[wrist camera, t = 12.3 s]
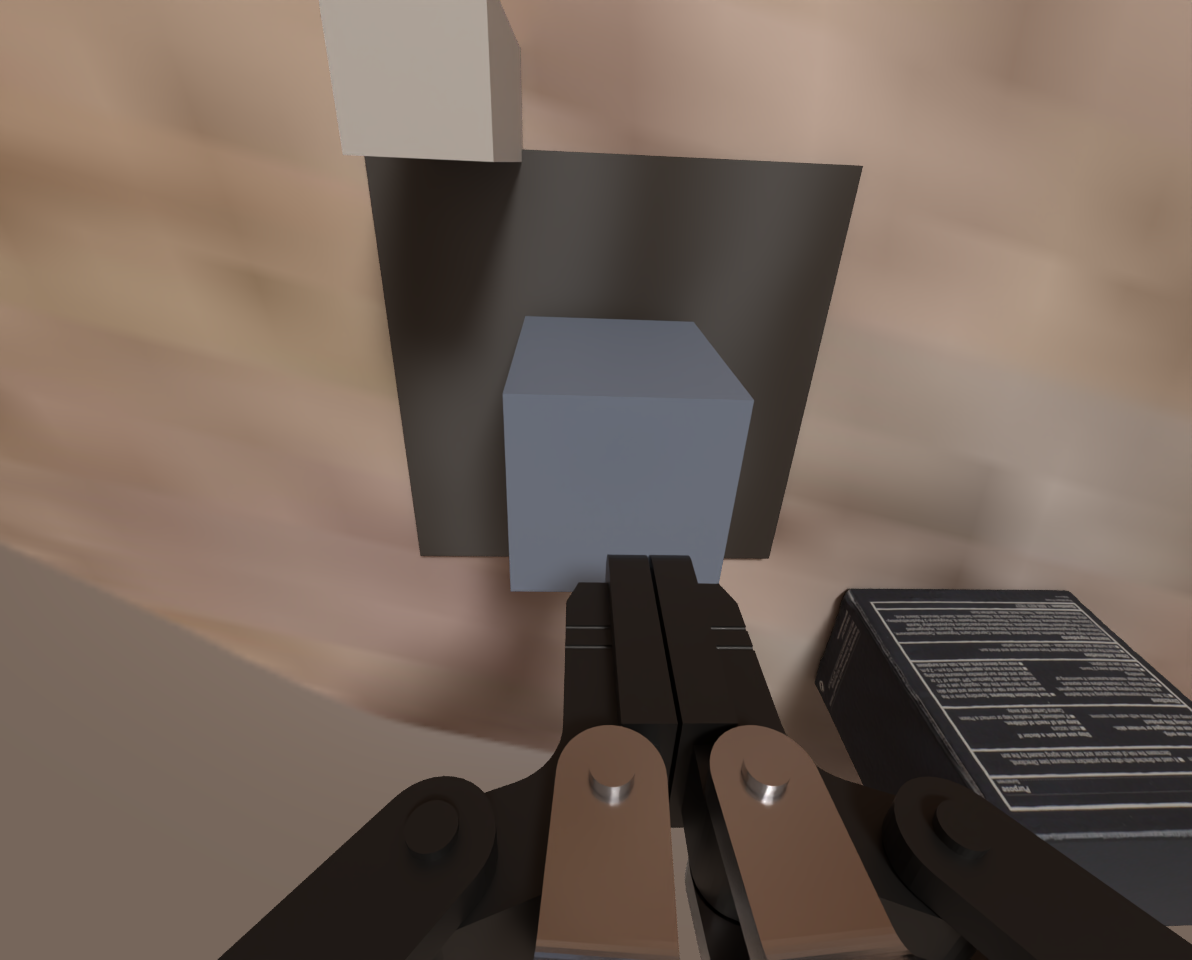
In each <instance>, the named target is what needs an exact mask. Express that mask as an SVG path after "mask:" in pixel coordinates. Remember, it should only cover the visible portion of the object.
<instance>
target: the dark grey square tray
mask: <svg viewBox="0 0 1192 960" xmlns="http://www.w3.org/2000/svg"><path fill="white" fill-rule="evenodd" d="M365 163H366V170H367V177H368V184H369V191H370V198H371V206H372V213H373V220H374V227H375V234H376V241H377V248H378V255H379V263H380V270H381V277H382V284H383V291H384V298H385V305H386V312H387V320H388V327H389V334H390V341H391V348H392V355H393V362H394V369H395V377H396V384H397V391H398V398H399V405H400V412H401V419H402V426H403V434H404V441H405V448H406V455H407V462H408V469H409V476H410V483H411V491H412V498H413V505H414V512H415V519H416V526H417V533H418V540H419V548H420V555H421V556H509V537H508V512H507V488H506V463H505V439H504V414H503V391H504V387H505V384H506V381H507V377H508V374H509V370H510V367H511V363H512V360H513V357H514V353H515V350H516V346H517V343H518V340H519V336H520V333H521V329H522V326H523V323H524V319H525V316H537V317H566V318H595V319H624V320H654V321H683V322H694V323H695V324H696V326H697V327H698V328H699V329H700V331H701V332H702V333H703V335H704V336H705V337H706V339H707V340H708V341H709V342H710V344H711V345H712V346H713V348H714V349H715V350H716V351H717V353H718V354H719V355H720V357H721V358H722V359H723V361H724V362H725V363H726V364H727V366H728V367H729V368H730V370H731V371H732V372H733V374H734V375H735V376H736V377H737V379H738V380H739V381H740V383H741V384H742V385H743V386H744V388H745V389H746V390H747V392H748V393H749V394H750V396H751V397H752V398H753V399H754V404H753V409H752V414H751V419H750V424H749V429H748V435H747V440H746V445H745V450H744V455H743V461H742V466H741V471H740V476H739V481H738V486H737V492H736V497H735V502H734V507H733V512H732V517H731V523H730V528H729V533H728V538H727V543H726V548H725V554H724V558H760V559H769V556H770V551H771V547H772V543H773V539H774V535H775V531H776V526H777V522H778V518H779V514H780V510H781V506H782V501H783V497H784V493H785V489H786V485H787V481H788V476H789V472H790V468H791V464H792V460H793V456H794V451H795V447H796V443H797V439H798V435H799V431H800V426H801V422H802V418H803V414H804V410H805V406H806V401H807V397H808V393H809V389H810V385H811V381H812V376H813V372H814V368H815V364H816V360H817V356H818V351H819V347H820V343H821V339H822V335H823V330H824V326H825V322H826V318H827V314H828V310H829V305H830V301H831V297H832V293H833V289H834V285H835V280H836V276H837V272H838V268H839V264H840V260H841V255H842V251H843V247H844V243H845V239H846V235H847V230H848V226H849V222H850V218H851V214H852V210H853V205H854V201H855V197H856V193H857V189H858V185H859V180H860V176H861V172H862V168H863V166H854V165H833V164H812V163H791V162H771V161H750V160H729V159H708V158H687V157H666V156H645V155H625V154H604V153H583V152H562V151H541V150H522V162H484V161H463V160H441V159H420V158H399V157H377V156H365Z"/></svg>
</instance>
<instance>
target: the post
mask: <svg viewBox="0 0 1192 960" xmlns="http://www.w3.org/2000/svg"><path fill="white" fill-rule="evenodd" d="M319 6H320V12H321V18H322V25H323V31H324V38H325V44H326V50H327V57H328V63H329V69H330V76H331V82H332V89H333V95H334V101H335V108H336V114H337V121H338V127H339V133H340V140H341V146H342V152H343V155H356V156H377V157H399V158H420V159H441V160H463V161H484V162H522V150H523V145H522V96H521V48H520V46H519V44H518V41H517V39H516V37H515V34H514V32H513V30H512V28H511V25H510V23H509V21H508V18H507V16H506V14H505V12H504V9H503V7H502V5H501V2H500V0H319Z"/></svg>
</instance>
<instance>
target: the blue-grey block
mask: <svg viewBox="0 0 1192 960" xmlns="http://www.w3.org/2000/svg"><path fill="white" fill-rule="evenodd" d="M753 404H754V399H753V398H752V397H751V396H750V394H749V393H748V392H747V390H746V389H745V388H744V386H743V385H742V384H741V383H740V381H739V380H738V379H737V377H736V376H735V375H734V374H733V372H732V371H731V370H730V368H729V367H728V366H727V364H726V363H725V362H724V361H723V359H722V358H721V357H720V355H719V354H718V353H717V351H716V350H715V349H714V348H713V346H712V345H711V344H710V342H709V341H708V340H707V339H706V337H705V336H704V335H703V333H702V332H701V331H700V329H699V328H698V327H697V326H696V324H695V323H694V322H683V321H654V320H624V319H595V318H566V317H537V316H525V319H524V323H523V326H522V329H521V333H520V336H519V340H518V343H517V346H516V350H515V353H514V357H513V360H512V363H511V367H510V370H509V374H508V377H507V381H506V384H505V387H504V391H503V414H504V439H505V463H506V488H507V512H508V537H509V561H510V586H511V591H535V592H573V591H574V589H575V587H576V586H577V584H578V583H579V582H600V583H605V574H606V559H607V554H612V555H647V557H648V556H649V555H689V556H690V558H691V561H692V564H693V567H694V571H695V574H696V578H697V581H698V583H709V584H719V579H720V574H721V569H722V564H723V559H724V554H725V548H726V543H727V538H728V533H729V528H730V523H731V517H732V512H733V507H734V502H735V497H736V492H737V486H738V481H739V476H740V471H741V466H742V461H743V455H744V450H745V445H746V440H747V435H748V429H749V424H750V419H751V414H752V409H753Z"/></svg>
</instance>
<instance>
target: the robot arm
mask: <svg viewBox="0 0 1192 960" xmlns="http://www.w3.org/2000/svg"><path fill="white" fill-rule="evenodd" d="M745 627H746V626H745V623H744V621H743V618H742V615H741V612H740V610H739V607H738V604H737V603H736V602H735V600H734V599H733V598H732V597H731V596H730V595H729V594H728V593H727V592H726V591H725V590H724V589H723V588H722V587H721V586H720V585H719V584H709V583H698V581H697V578H696V574H695V571H694V567H693V564H692V561H691V558H690V556H689V555H649V556H648V557H647V555H612V554H607V559H606V574H605V583H600V582H579V583H578V584H577V586H576V587H575V589H574V591H573V592H572V594H571V595H570V597H569V599H568V600H567V602H566V639H565V677H564V716H563V732H562V737H561V740H560V743H559V745H558V747H557V749H556V751H555V753H554V754H553V755H552V757H551V758H550V760H549V761H548V762H547V763H546V764H545V765H544V766H543V767H542V768H541V769H539V770H538V771H537V772H535V773H534V774H532V775H530V776H529V777H527V778H525V779H522V780H520V781H518V782H515V783H512V784H509V785H506V786H503V787H501V788H498V789H494V790H492V791H489V792H486V793H484V792H483V791H482V790H481V789H480V788H479V787H477V786H476V785H474V784H473V783H471V782H469V781H467V780H465V779H462V778H457V777H450V776H442V777H433V778H430V779H426V780H423V781H420V782H418V783H416V784H414V785H412V786H410V787H408V788H407V789H405V790H404V791H402V792H401V793H400V794H399V795H397V796H396V797H395V798H394V799H393V800H392V801H391V802H389V803H388V804H387V805H386V806H385V807H384V808H383V809H382V810H381V811H379V812H378V813H377V814H376V815H375V816H374V817H373V818H372V819H371V820H370V821H369V822H368V823H366V824H365V825H364V826H363V827H362V828H361V829H360V830H359V831H358V832H357V833H355V834H354V835H353V836H352V837H351V838H350V839H349V840H348V841H347V842H346V843H344V844H343V845H342V846H341V847H340V848H339V849H338V850H337V851H336V852H335V853H334V854H333V855H331V856H330V857H329V858H328V859H327V860H326V861H325V862H324V863H323V864H322V865H321V866H319V867H318V868H317V869H316V870H315V871H314V872H313V873H312V874H311V875H309V876H308V878H306V879H305V880H304V881H303V882H302V883H301V884H300V885H299V886H298V887H296V888H295V889H294V890H293V891H292V892H291V893H290V894H289V895H288V896H286V898H285V899H283V900H282V901H281V902H280V903H279V904H278V905H277V906H276V907H274V909H272V910H271V911H270V912H269V913H268V914H267V915H266V916H265V917H264V918H262V919H261V921H259V922H258V923H257V924H256V925H255V926H254V927H253V928H252V929H250V931H248V932H247V933H246V934H245V935H244V936H243V937H242V938H241V939H240V940H238V942H236V943H235V944H234V945H233V946H232V947H231V948H230V949H229V950H227V951H226V952H225V953H224V954H223V955H222V956H221V957H220V958H219V959H218V960H680V955H679V944H678V930H677V914H676V900H675V885H674V870H673V855H672V841H671V827H672V828H676V827H677V828H678V827H679V828H680V827H684V832H685V838H686V844H687V850H688V862H687V867H686V872H685V885H686V892H687V897H688V902H689V906H690V911H691V916H692V920H693V925H694V929H695V934H696V939H697V943H698V948H699V953H700V957H701V960H1192V944H1190V943H1189V942H1187V941H1186V940H1185V939H1183V938H1182V937H1180V936H1179V935H1177V934H1176V933H1175V932H1173V931H1172V930H1170V929H1169V928H1167V927H1166V926H1165V925H1163V924H1162V923H1160V922H1159V921H1158V920H1156V919H1155V918H1153V917H1152V916H1151V915H1149V914H1148V913H1146V912H1145V911H1143V910H1142V909H1141V908H1139V907H1138V906H1136V905H1135V904H1133V903H1132V902H1131V901H1129V900H1128V899H1126V898H1125V897H1124V896H1122V895H1121V894H1119V893H1118V892H1116V891H1115V890H1114V889H1112V888H1111V887H1109V886H1108V885H1106V884H1105V883H1104V882H1102V881H1101V880H1099V879H1098V878H1097V877H1095V876H1094V875H1092V874H1091V873H1089V872H1088V871H1087V870H1085V869H1084V868H1082V867H1081V866H1079V865H1078V864H1077V863H1075V862H1074V861H1072V860H1071V859H1070V858H1068V857H1067V856H1065V855H1064V854H1062V853H1061V852H1060V851H1058V850H1057V849H1055V848H1054V847H1052V846H1051V845H1050V844H1048V843H1047V842H1045V841H1044V840H1043V839H1041V838H1040V837H1038V836H1037V835H1035V834H1034V833H1033V832H1031V831H1030V830H1028V829H1027V828H1025V827H1024V826H1023V825H1021V824H1020V823H1018V822H1017V821H1015V820H1014V819H1013V818H1011V817H1010V816H1008V815H1007V814H1006V813H1004V812H1003V811H1001V810H1000V809H998V808H997V807H996V806H994V805H993V804H991V803H990V802H988V801H987V800H986V799H984V798H983V797H981V796H980V795H978V794H977V793H975V792H973V791H972V790H970V789H968V788H966V787H964V786H962V785H960V784H958V783H955V782H952V781H950V780H946V779H942V778H938V777H918V778H914V779H911V780H909V781H908V782H906V783H905V784H903V785H902V786H901V787H900V789H899V791H898V792H897V794H896V795H892V794H889V793H886V792H883V791H879V790H876V789H873V788H869V787H866V786H863V785H859V784H856V783H853V782H850V781H846V780H843V779H841V778H838V777H835V776H833V775H831V774H829V773H827V772H825V771H823V770H822V769H820V768H819V767H817V766H816V765H815V764H814V762H813V760H812V759H811V758H810V756H809V755H808V754H807V752H806V751H805V750H804V749H803V748H802V747H801V746H800V745H799V744H797V743H796V742H795V741H793V740H792V739H791V738H789V737H788V736H787V735H786V734H785V731H784V729H783V727H782V725H781V722H780V719H779V716H778V714H777V711H776V708H775V705H774V703H773V700H772V697H771V695H770V692H769V689H768V686H767V684H766V681H765V678H764V675H763V673H762V670H761V667H760V664H759V662H758V659H757V656H756V653H755V651H753V648H752V646H753V645H752V643H751V640H750V637H749V634H748V632H747V631H746V629H745Z"/></svg>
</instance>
